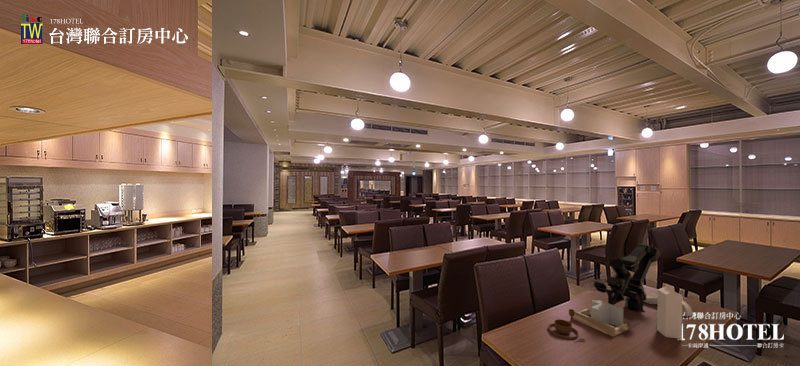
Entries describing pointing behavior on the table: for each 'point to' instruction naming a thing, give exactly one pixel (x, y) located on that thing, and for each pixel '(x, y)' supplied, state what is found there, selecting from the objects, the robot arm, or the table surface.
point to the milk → (669, 312)
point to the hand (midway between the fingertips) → (609, 305)
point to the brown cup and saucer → (565, 327)
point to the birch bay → (598, 323)
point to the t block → (607, 313)
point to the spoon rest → (654, 300)
